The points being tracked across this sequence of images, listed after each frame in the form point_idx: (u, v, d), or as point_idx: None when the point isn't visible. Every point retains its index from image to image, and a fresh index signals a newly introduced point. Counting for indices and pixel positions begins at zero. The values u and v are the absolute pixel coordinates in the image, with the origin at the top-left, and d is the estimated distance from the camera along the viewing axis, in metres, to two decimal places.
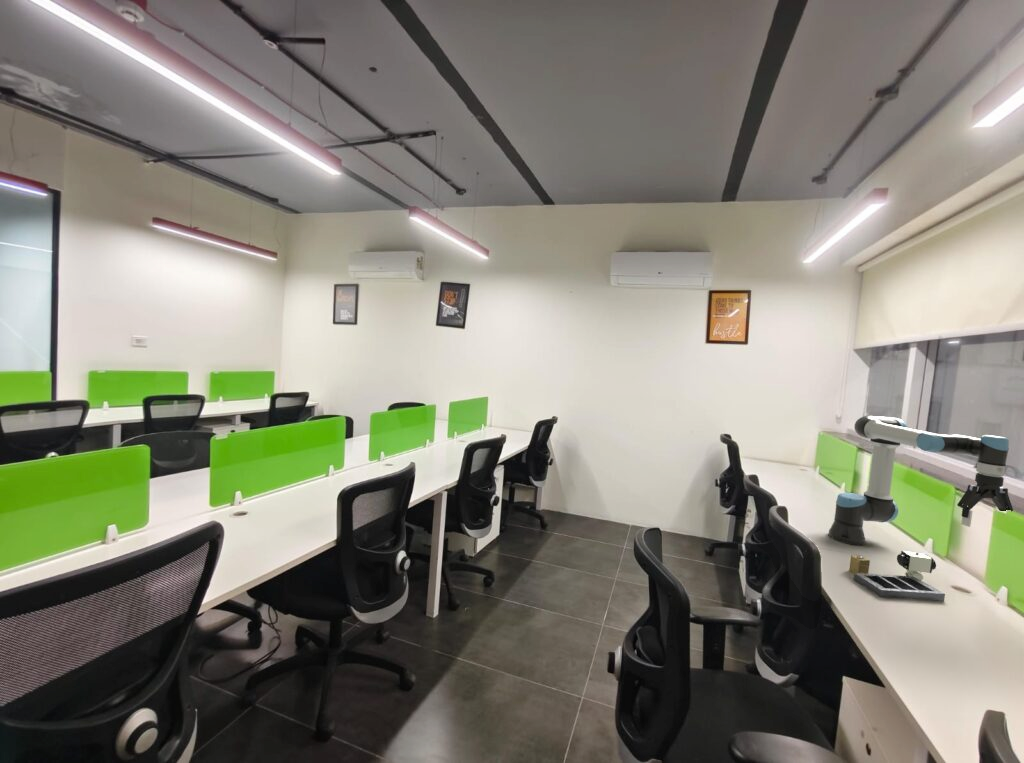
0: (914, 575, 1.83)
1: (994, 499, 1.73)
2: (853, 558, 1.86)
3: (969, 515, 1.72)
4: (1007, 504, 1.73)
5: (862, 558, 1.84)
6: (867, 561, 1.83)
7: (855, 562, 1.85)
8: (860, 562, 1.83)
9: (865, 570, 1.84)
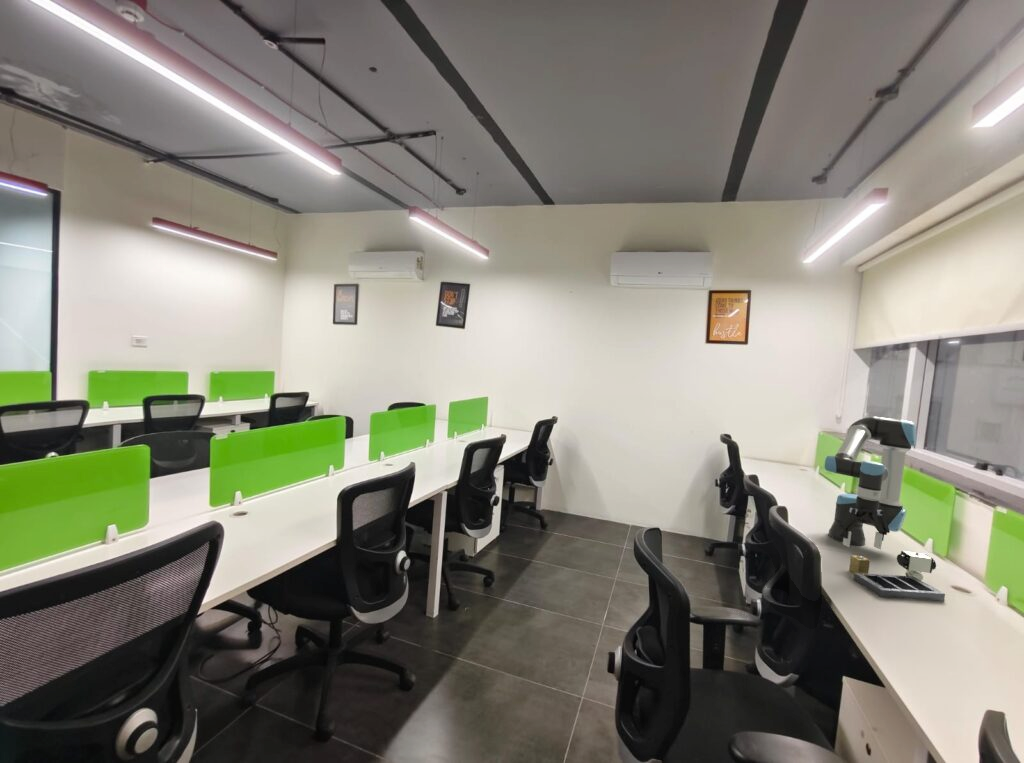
0: (914, 575, 1.83)
1: (872, 521, 1.85)
2: (853, 558, 1.86)
3: (848, 536, 1.84)
4: (884, 526, 1.84)
5: (862, 558, 1.84)
6: (867, 561, 1.83)
7: (855, 562, 1.85)
8: (860, 562, 1.83)
9: (865, 570, 1.84)
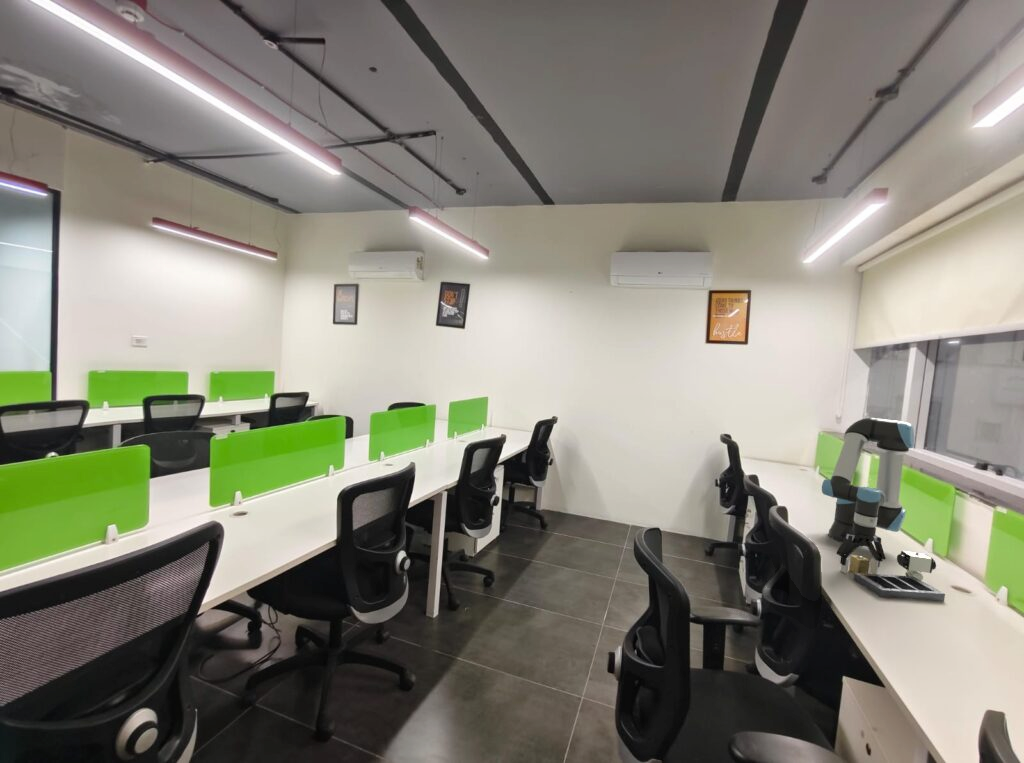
0: (914, 575, 1.83)
1: (869, 547, 1.85)
2: (853, 558, 1.86)
3: (846, 563, 1.84)
4: (880, 552, 1.85)
5: (862, 558, 1.84)
6: (867, 561, 1.83)
7: (855, 562, 1.85)
8: (860, 562, 1.83)
9: (865, 570, 1.84)
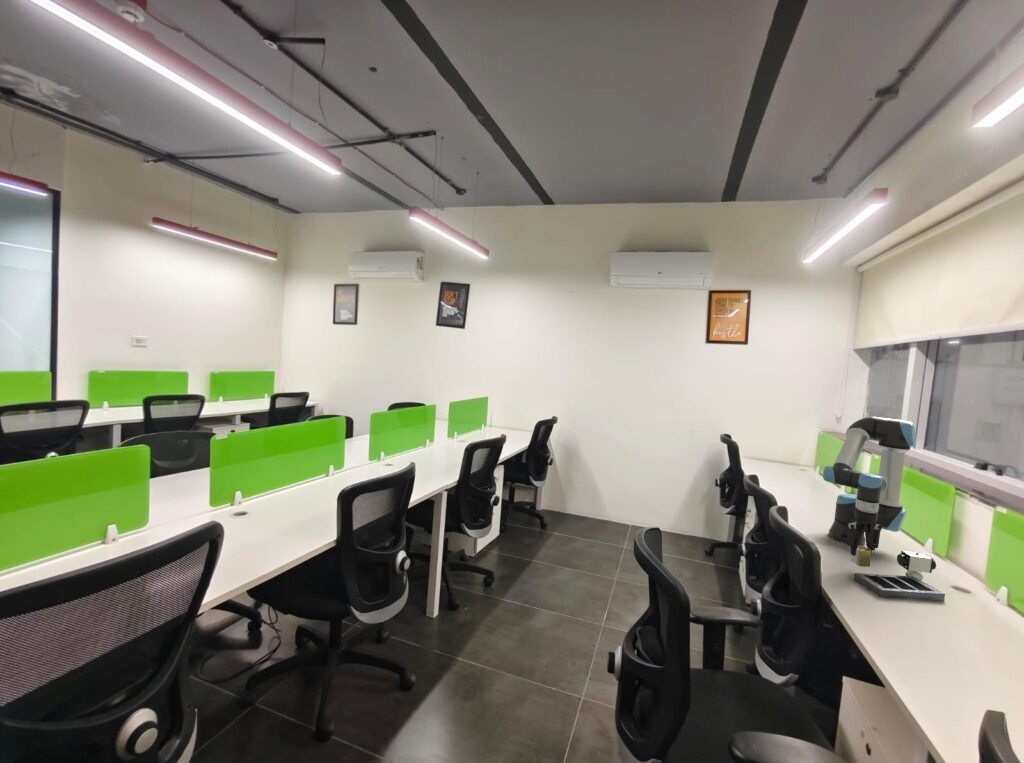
0: (914, 575, 1.83)
1: (867, 534, 1.85)
2: None
3: (856, 553, 1.85)
4: (875, 540, 1.84)
5: (863, 548, 1.84)
6: (869, 551, 1.83)
7: None
8: (862, 552, 1.83)
9: (867, 560, 1.84)
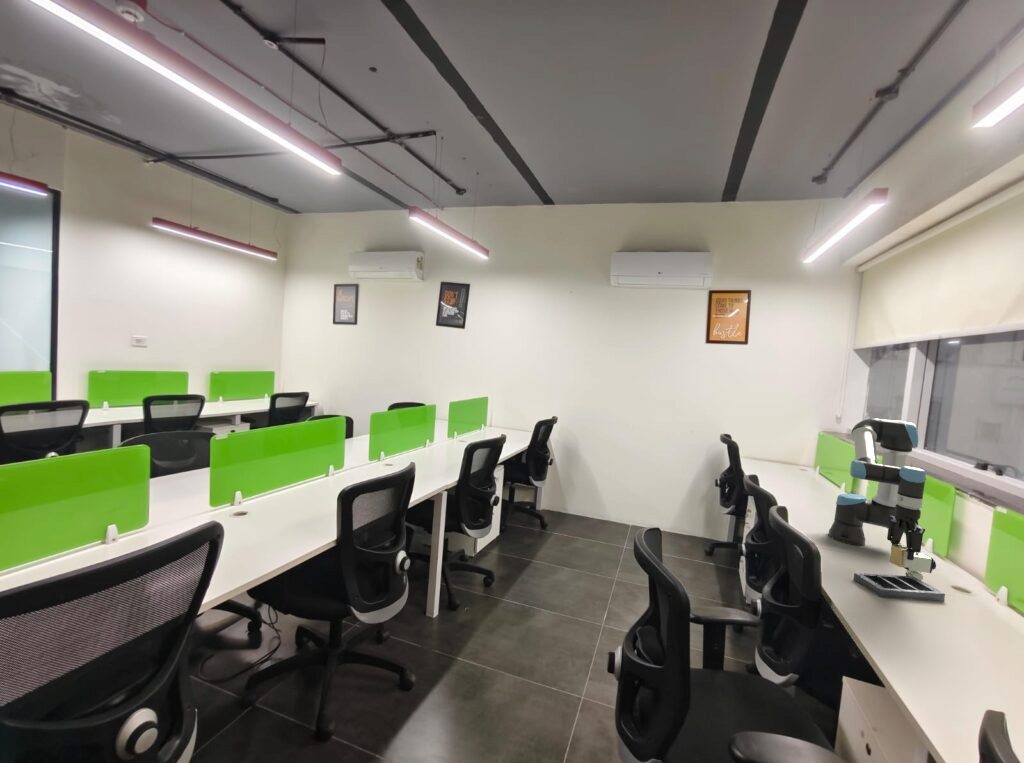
0: (914, 575, 1.83)
1: None
2: None
3: None
4: None
5: (899, 546, 1.72)
6: (899, 549, 1.71)
7: None
8: (892, 547, 1.74)
9: (897, 558, 1.72)
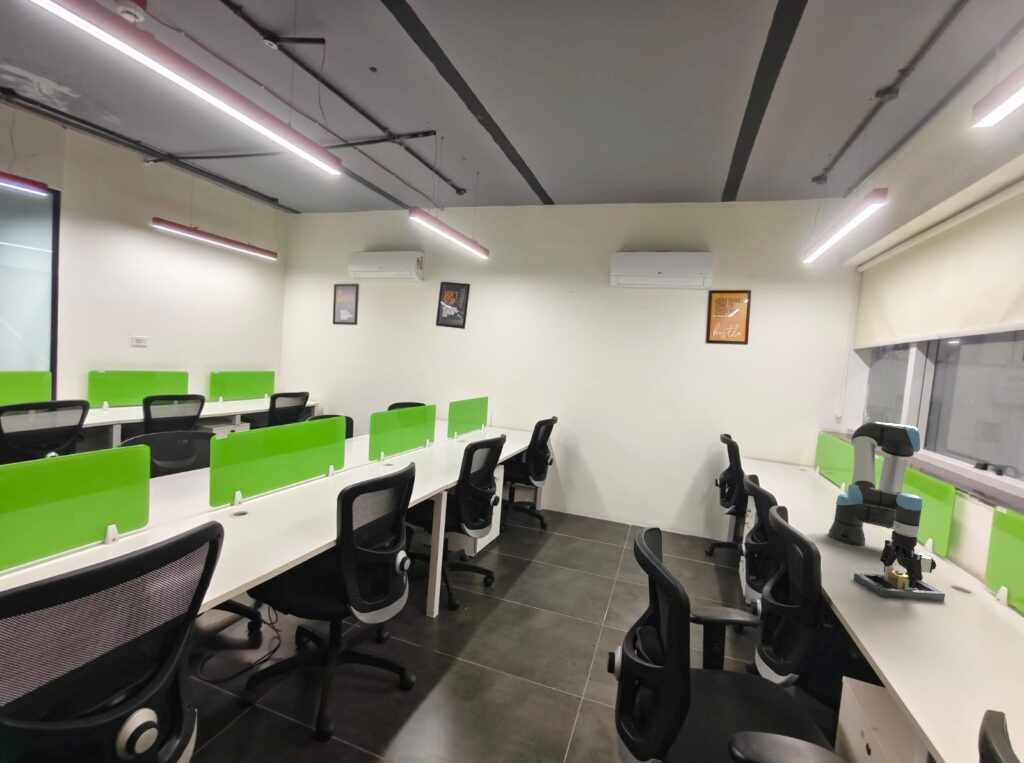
0: None
1: None
2: None
3: None
4: None
5: (895, 572, 1.73)
6: (896, 575, 1.72)
7: None
8: (889, 573, 1.75)
9: (894, 584, 1.73)
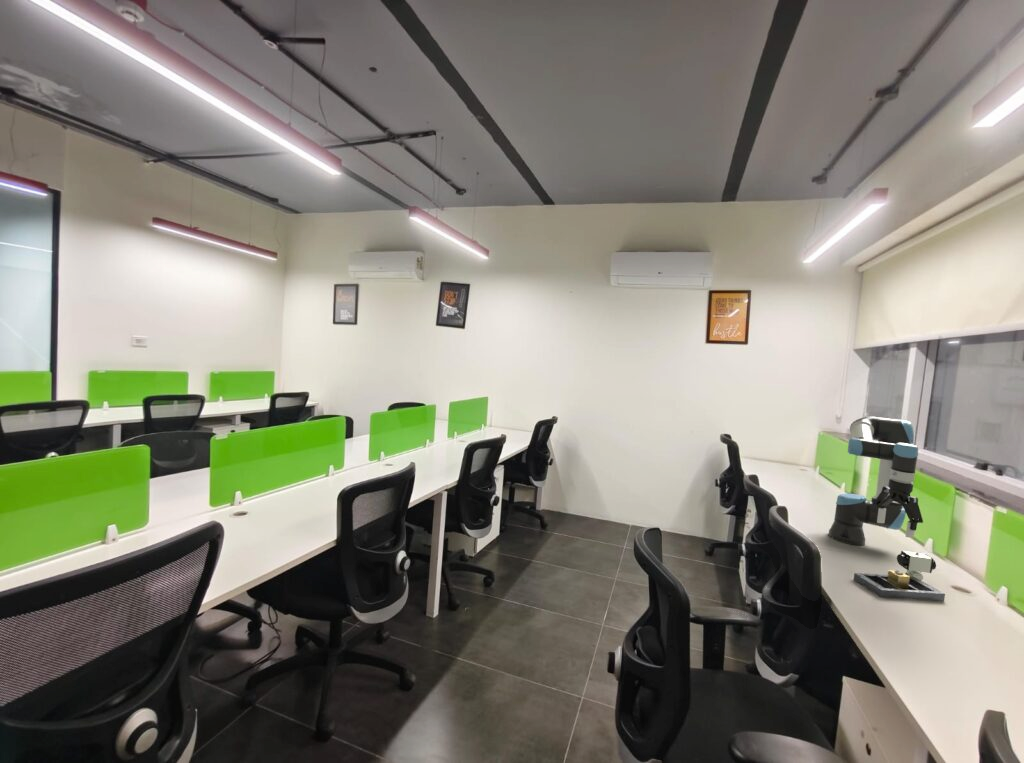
0: (914, 575, 1.83)
1: None
2: None
3: None
4: None
5: (895, 572, 1.73)
6: (896, 575, 1.72)
7: None
8: (889, 573, 1.75)
9: (894, 584, 1.73)
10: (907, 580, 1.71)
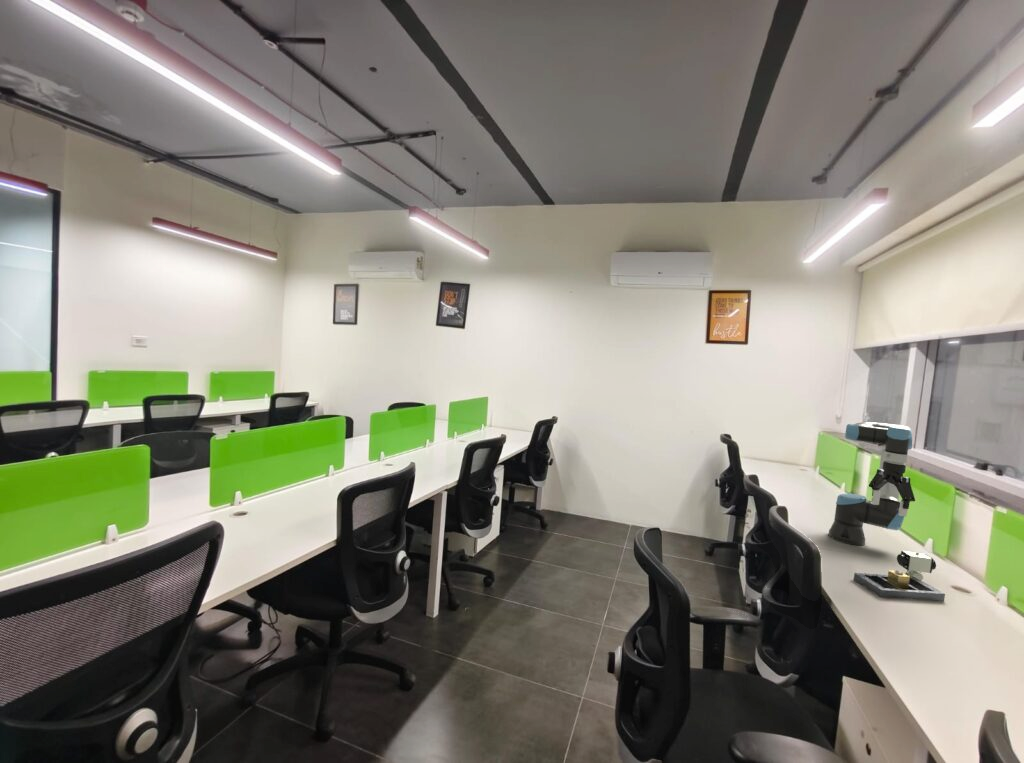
0: (914, 575, 1.83)
1: None
2: None
3: None
4: None
5: (895, 572, 1.73)
6: (896, 575, 1.72)
7: None
8: (889, 573, 1.75)
9: (894, 584, 1.73)
10: (907, 580, 1.71)
